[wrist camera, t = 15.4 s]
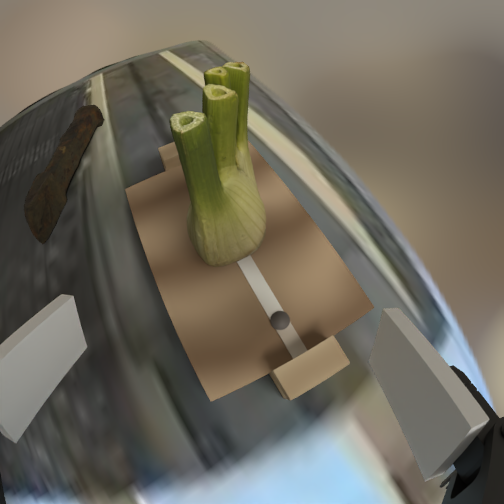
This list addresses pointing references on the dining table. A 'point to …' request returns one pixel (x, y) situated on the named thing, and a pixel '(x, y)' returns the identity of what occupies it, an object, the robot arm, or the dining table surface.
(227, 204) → the fennel bulb
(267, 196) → the tan wooden board
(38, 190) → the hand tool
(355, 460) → the dining table surface
